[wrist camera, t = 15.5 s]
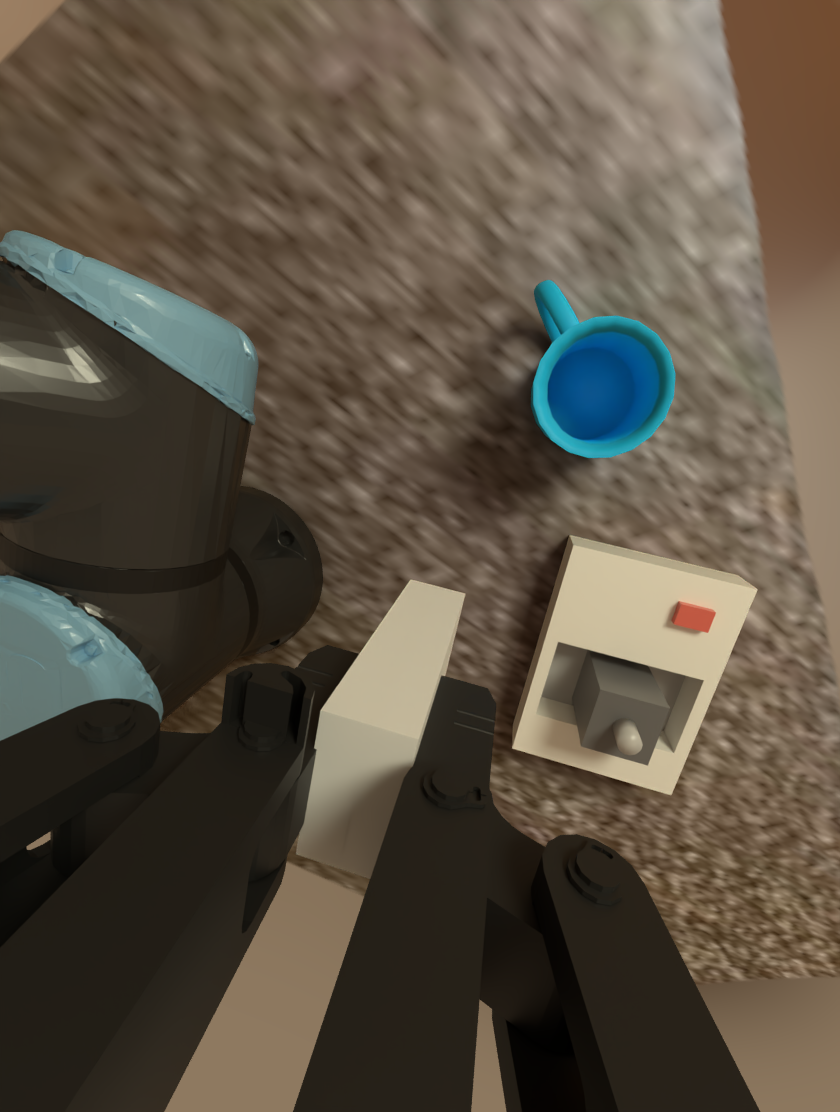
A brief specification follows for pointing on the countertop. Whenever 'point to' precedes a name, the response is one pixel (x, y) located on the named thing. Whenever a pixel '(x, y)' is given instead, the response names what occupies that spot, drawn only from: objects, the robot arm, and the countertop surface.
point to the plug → (618, 707)
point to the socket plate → (630, 651)
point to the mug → (598, 380)
